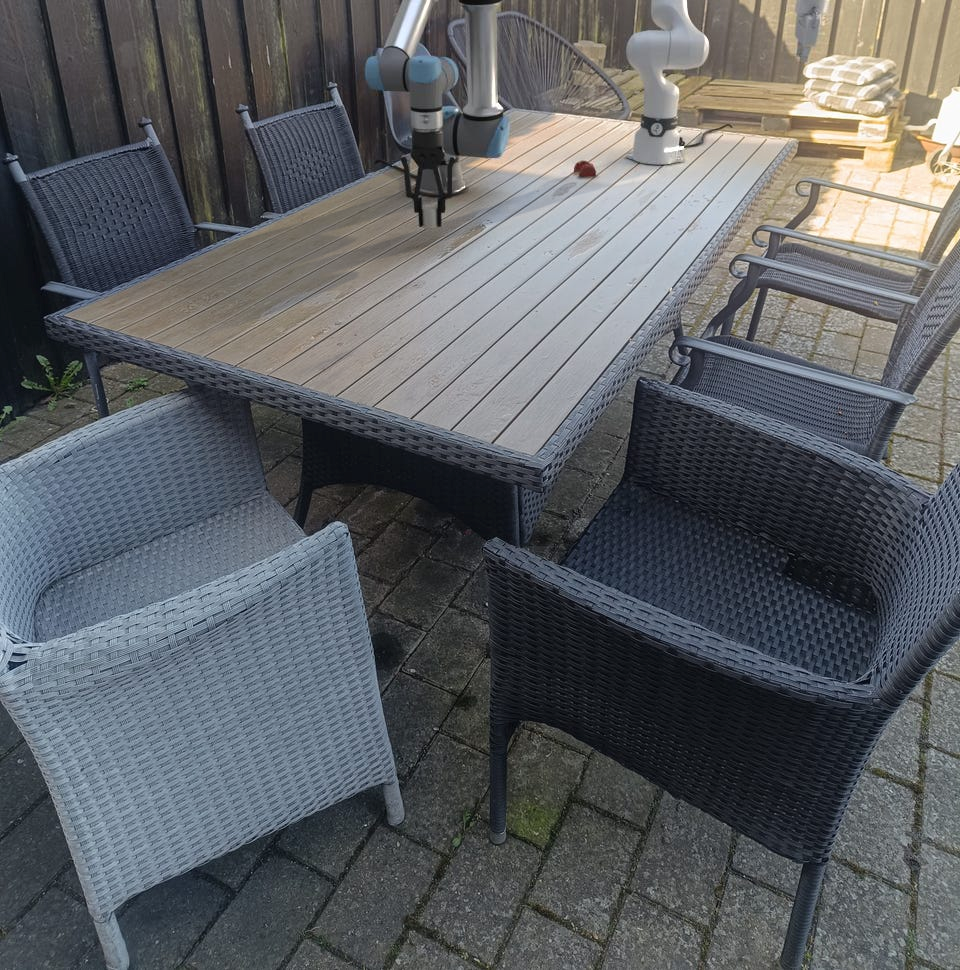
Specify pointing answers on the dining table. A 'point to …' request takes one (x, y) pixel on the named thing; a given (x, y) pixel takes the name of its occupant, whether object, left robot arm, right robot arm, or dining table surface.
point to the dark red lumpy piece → (584, 169)
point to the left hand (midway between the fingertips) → (430, 225)
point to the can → (430, 216)
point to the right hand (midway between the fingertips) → (801, 59)
